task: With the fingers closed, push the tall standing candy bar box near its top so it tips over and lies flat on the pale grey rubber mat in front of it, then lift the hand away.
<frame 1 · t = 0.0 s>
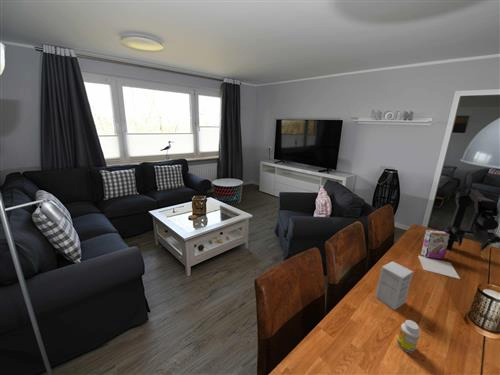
hand: (470, 248, 126), 15 cm above the table, fingers open, 9 cm apart
mat: (437, 266, 132), on the table
candy bar box: (432, 257, 142), on the table
supplement bottle: (405, 346, 84), on the table
supplement box: (389, 300, 106), on the table
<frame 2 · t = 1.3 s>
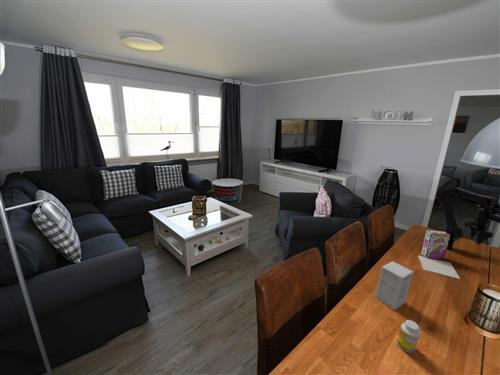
hand: (474, 240, 138), 13 cm above the table, fingers open, 9 cm apart
candy bar box: (432, 257, 142), on the table, touching mat
everything else where it was.
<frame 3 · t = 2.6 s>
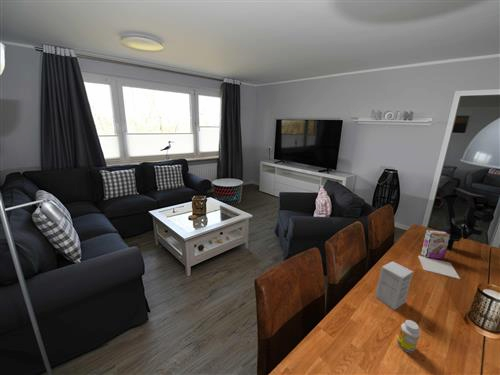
hand: (464, 238, 140), 13 cm above the table, fingers closed
nothing on the table moved.
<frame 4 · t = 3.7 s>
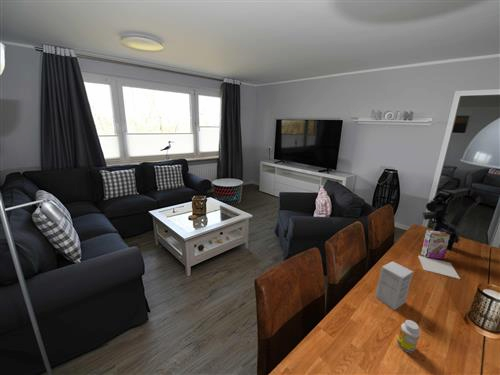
hand: (434, 232, 146), 13 cm above the table, fingers closed
nothing on the table moved.
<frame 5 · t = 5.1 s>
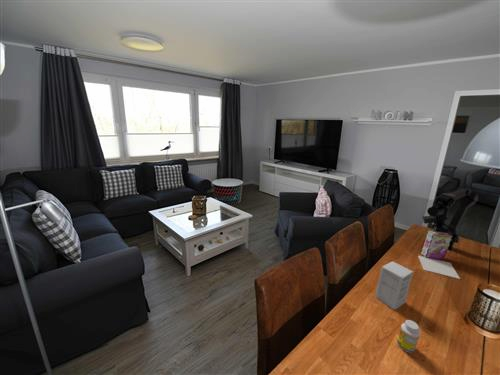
hand: (434, 236, 144), 11 cm above the table, fingers closed
candy bar box: (432, 257, 142), on the table, touching gripper, mat
everything else where it was.
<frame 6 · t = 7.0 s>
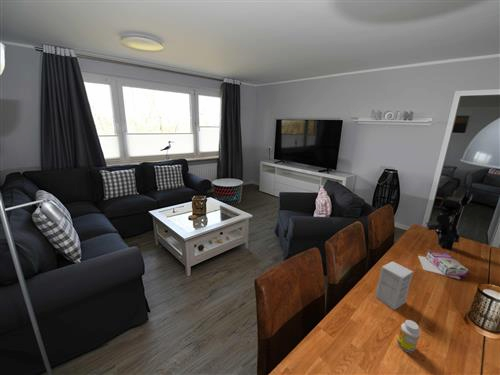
hand: (439, 244, 135), 11 cm above the table, fingers closed
candy bar box: (435, 255, 139), point 3 cm above the table, touching mat
everything else where it was.
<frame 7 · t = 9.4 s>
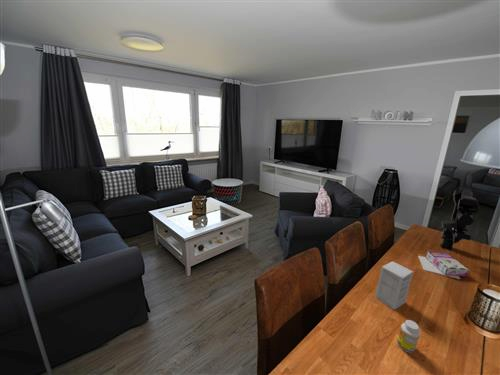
hand: (454, 242, 135), 13 cm above the table, fingers closed
nothing on the table moved.
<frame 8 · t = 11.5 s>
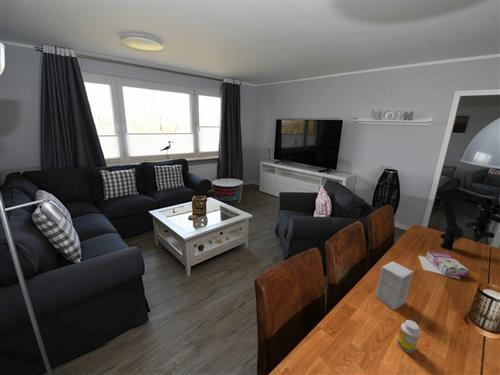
hand: (475, 241, 137), 13 cm above the table, fingers closed
nothing on the table moved.
at the end: candy bar box tilted 89°; candy bar box touching mat; candy bar box inside the target area (2.1 cm from its centre), point 2.7 cm above the table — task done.
